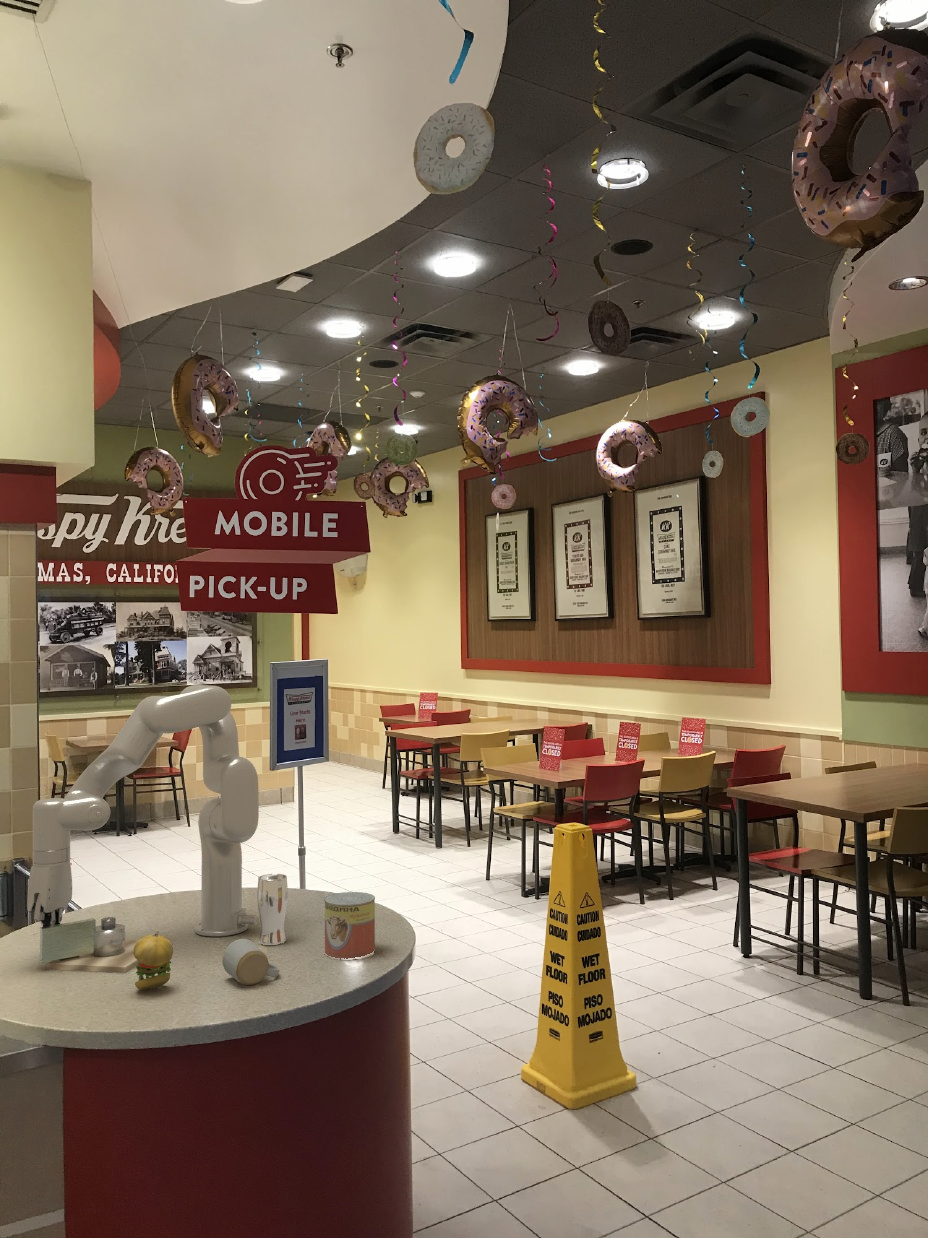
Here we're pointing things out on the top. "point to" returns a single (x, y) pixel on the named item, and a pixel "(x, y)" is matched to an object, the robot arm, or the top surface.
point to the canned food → (349, 924)
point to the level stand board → (99, 961)
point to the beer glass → (272, 907)
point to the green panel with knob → (81, 939)
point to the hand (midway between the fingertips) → (51, 941)
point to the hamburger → (153, 961)
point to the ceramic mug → (247, 962)
